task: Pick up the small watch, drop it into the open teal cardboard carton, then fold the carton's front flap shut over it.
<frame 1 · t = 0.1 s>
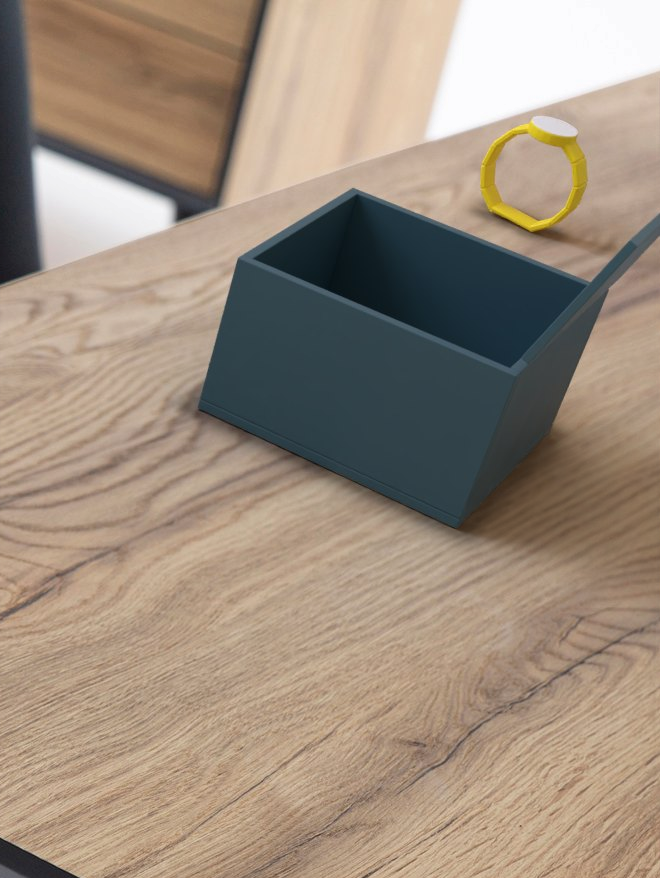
carton: (377, 420, 81), on the table
watch: (514, 224, 103), on the table
flap: (623, 261, 71), point 11 cm above the table, hinge at 110.0°
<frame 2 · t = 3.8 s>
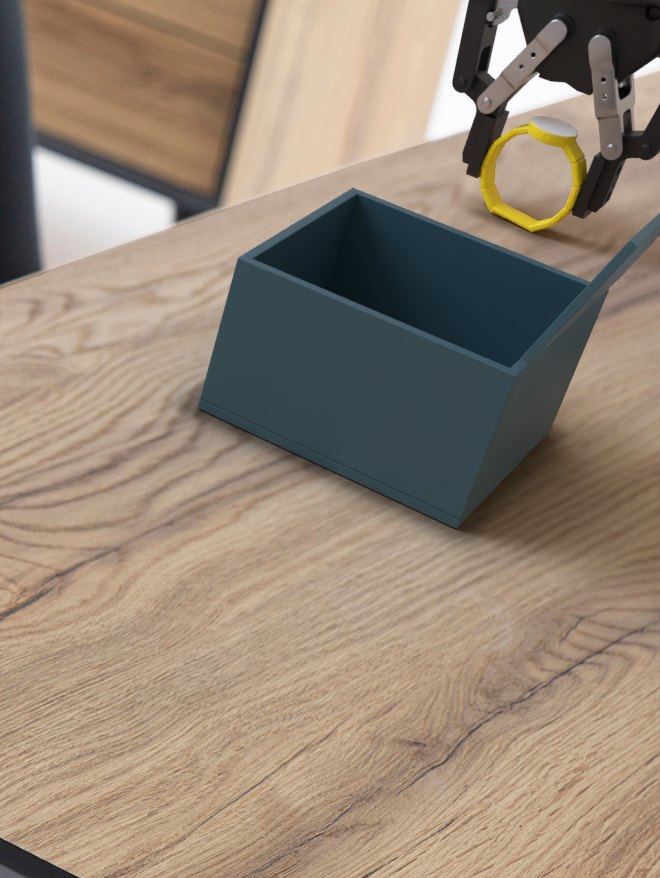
hand: (528, 192, 102), 2 cm above the table, tool pointing down, fingers closed on watch, 6 cm apart
watch: (514, 224, 103), on the table, touching gripper
everything else where it was.
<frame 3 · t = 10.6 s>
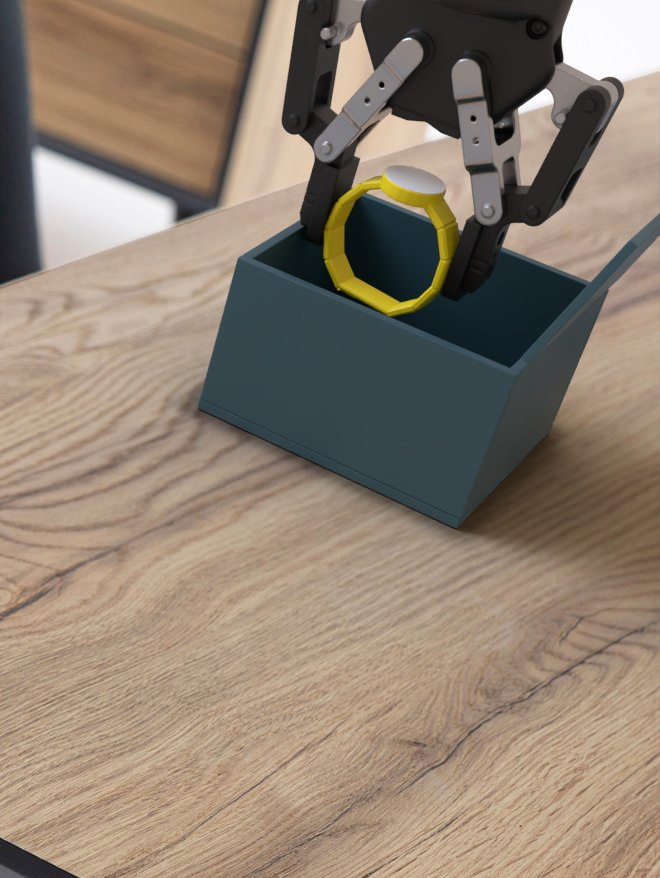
hand: (386, 265, 77), 7 cm above the table, tool pointing down, fingers closed on watch, 6 cm apart
watch: (370, 306, 78), point 5 cm above the table, touching gripper
everything else where it was.
when the fingers open (8 cm above the table, at t = 20.6 s): watch drops 6 cm, resting on carton.
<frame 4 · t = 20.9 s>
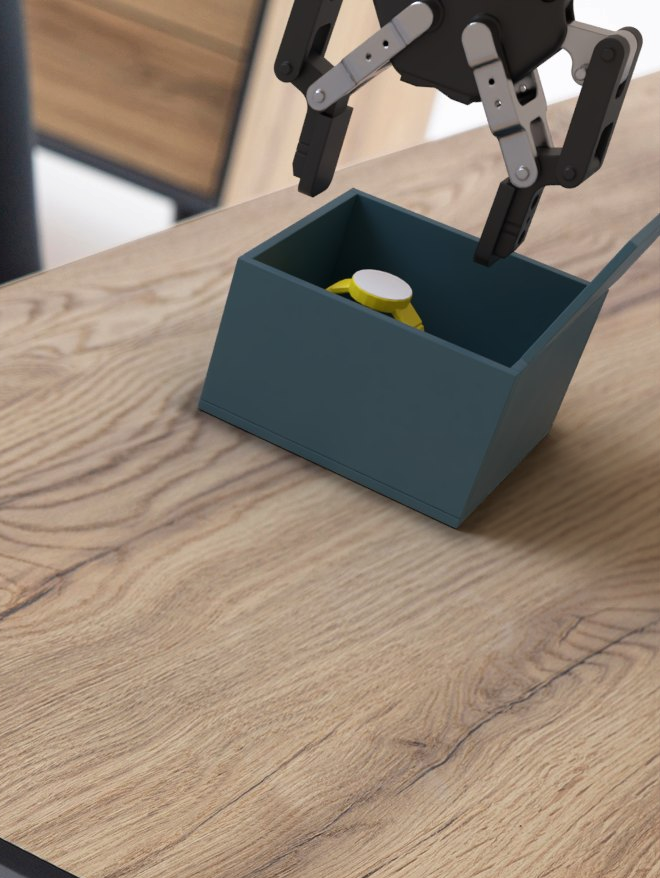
hand: (397, 224, 76), 9 cm above the table, tool pointing down, fingers open, 8 cm apart
watch: (340, 401, 81), resting on carton
everything else where it was.
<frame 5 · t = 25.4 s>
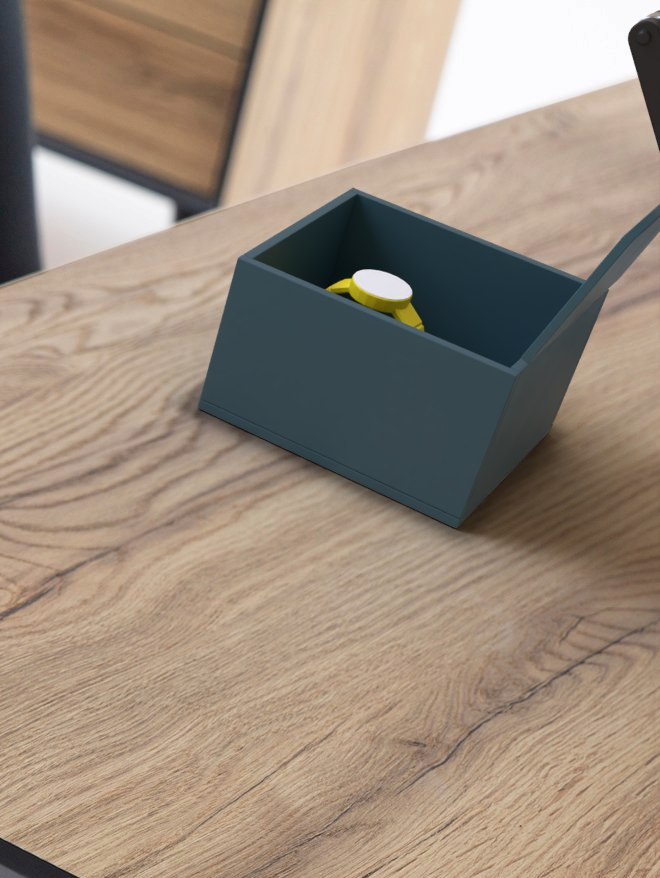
flap: (621, 259, 71), point 11 cm above the table, hinge at 107.4°, touching gripper
everything else where it was.
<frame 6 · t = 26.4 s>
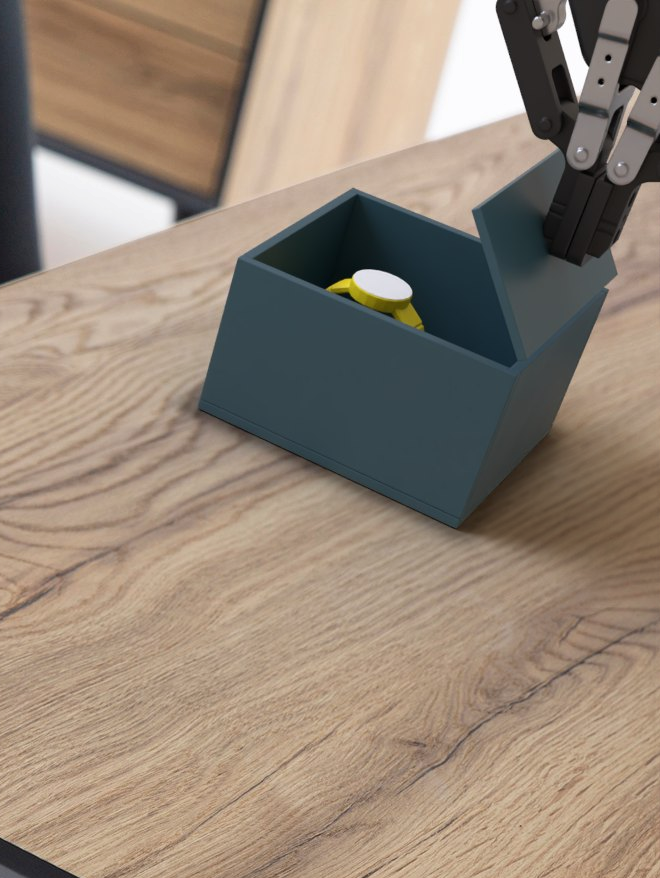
hand: (570, 255, 72), 11 cm above the table, tool pointing down, fingers closed
flap: (549, 244, 73), point 11 cm above the table, hinge at 52.2°, touching gripper
everything else where it was.
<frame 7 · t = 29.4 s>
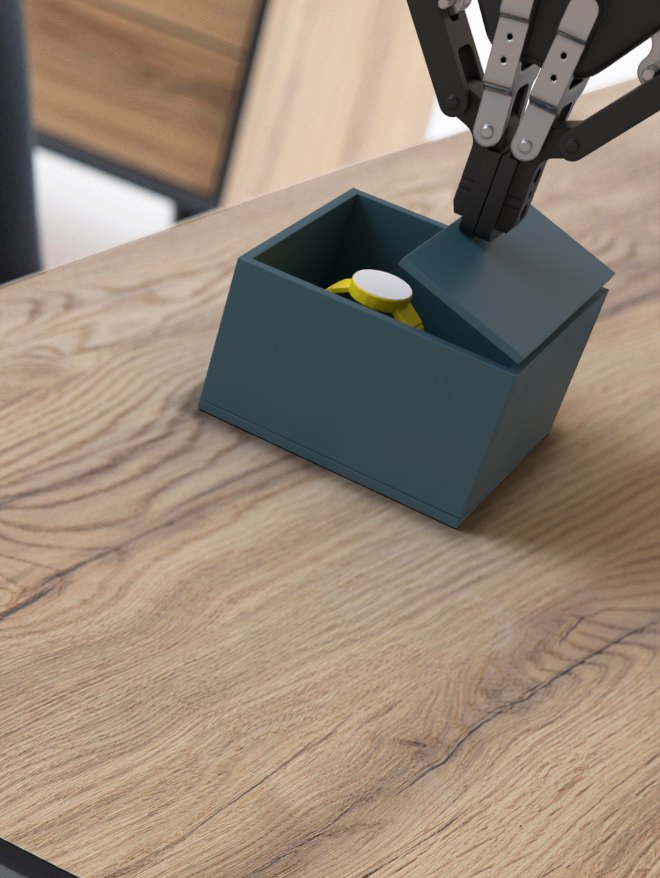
hand: (480, 231, 74), 10 cm above the table, tool pointing down, fingers closed
flap: (512, 269, 74), point 9 cm above the table, hinge at 17.8°, touching gripper
everything else where it was.
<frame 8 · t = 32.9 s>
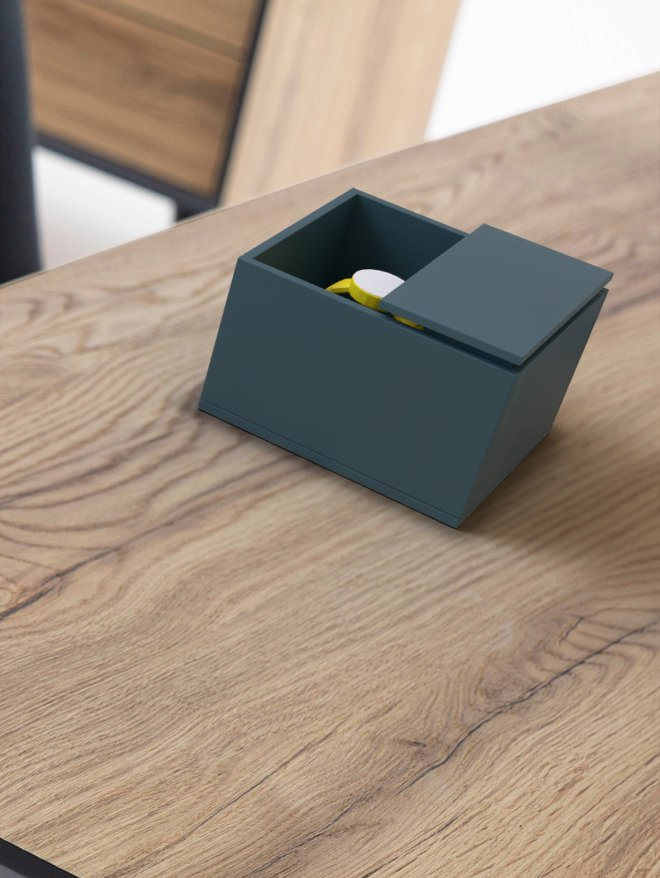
flap: (500, 289, 75), point 8 cm above the table, hinge at -0.6°
everything else where it was.
at the end: watch inside the target area in the carton (1.9 cm from its centre), point 0.3 cm above the carton's base; flap at -1° (first picture: +110°) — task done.
